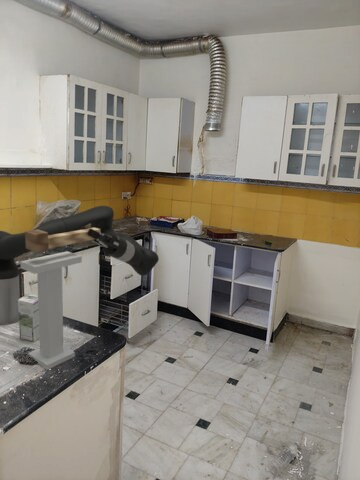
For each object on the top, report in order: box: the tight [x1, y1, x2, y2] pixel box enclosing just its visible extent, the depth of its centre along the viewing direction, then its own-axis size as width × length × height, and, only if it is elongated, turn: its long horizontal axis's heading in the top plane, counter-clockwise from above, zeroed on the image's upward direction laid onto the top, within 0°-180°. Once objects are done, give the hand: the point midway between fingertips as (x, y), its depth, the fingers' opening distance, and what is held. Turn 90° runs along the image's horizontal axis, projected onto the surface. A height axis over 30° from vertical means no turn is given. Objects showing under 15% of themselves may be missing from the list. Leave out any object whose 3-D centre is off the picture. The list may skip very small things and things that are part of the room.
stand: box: [20, 251, 83, 371], centre depth 117 cm, size 16×10×32 cm, turn 143°
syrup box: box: [18, 294, 40, 343], centre depth 129 cm, size 6×6×14 cm
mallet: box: [24, 227, 101, 253], centre depth 115 cm, size 24×5×5 cm, turn 143°
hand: (85, 230), depth 121 cm, fingers closed on mallet, 3 cm apart
